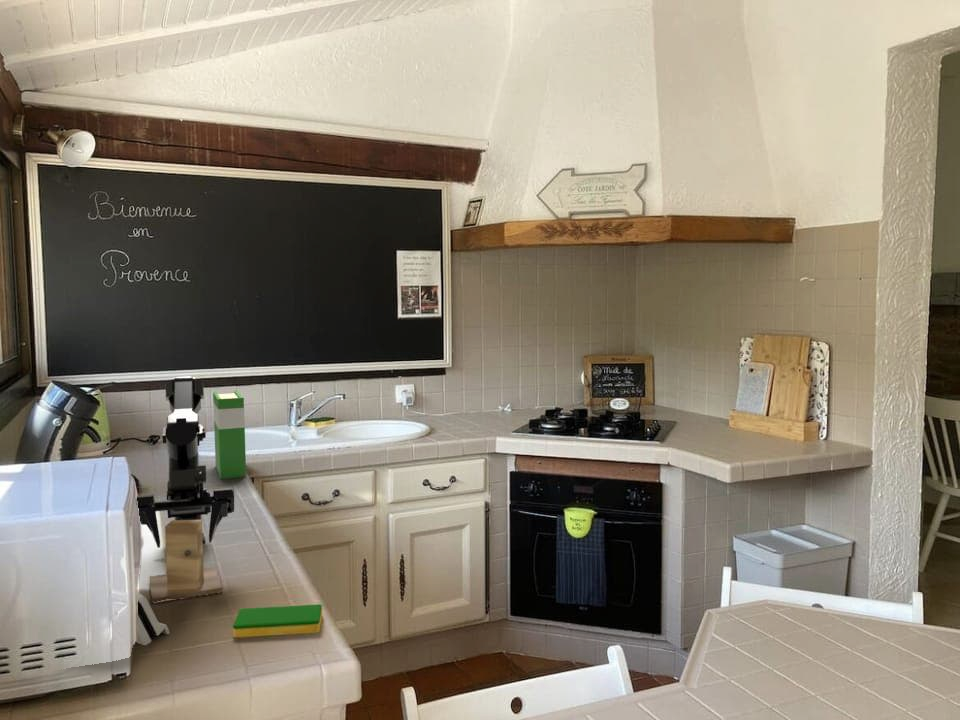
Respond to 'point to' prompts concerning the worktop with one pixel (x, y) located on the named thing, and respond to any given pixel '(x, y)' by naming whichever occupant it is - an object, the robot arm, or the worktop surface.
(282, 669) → the worktop surface
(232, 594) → the worktop surface
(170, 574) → the wooden block
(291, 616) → the dish sponge
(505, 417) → the worktop surface
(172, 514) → the robot arm
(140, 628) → the grey angled piece
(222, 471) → the carton
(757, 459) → the worktop surface
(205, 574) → the base board
